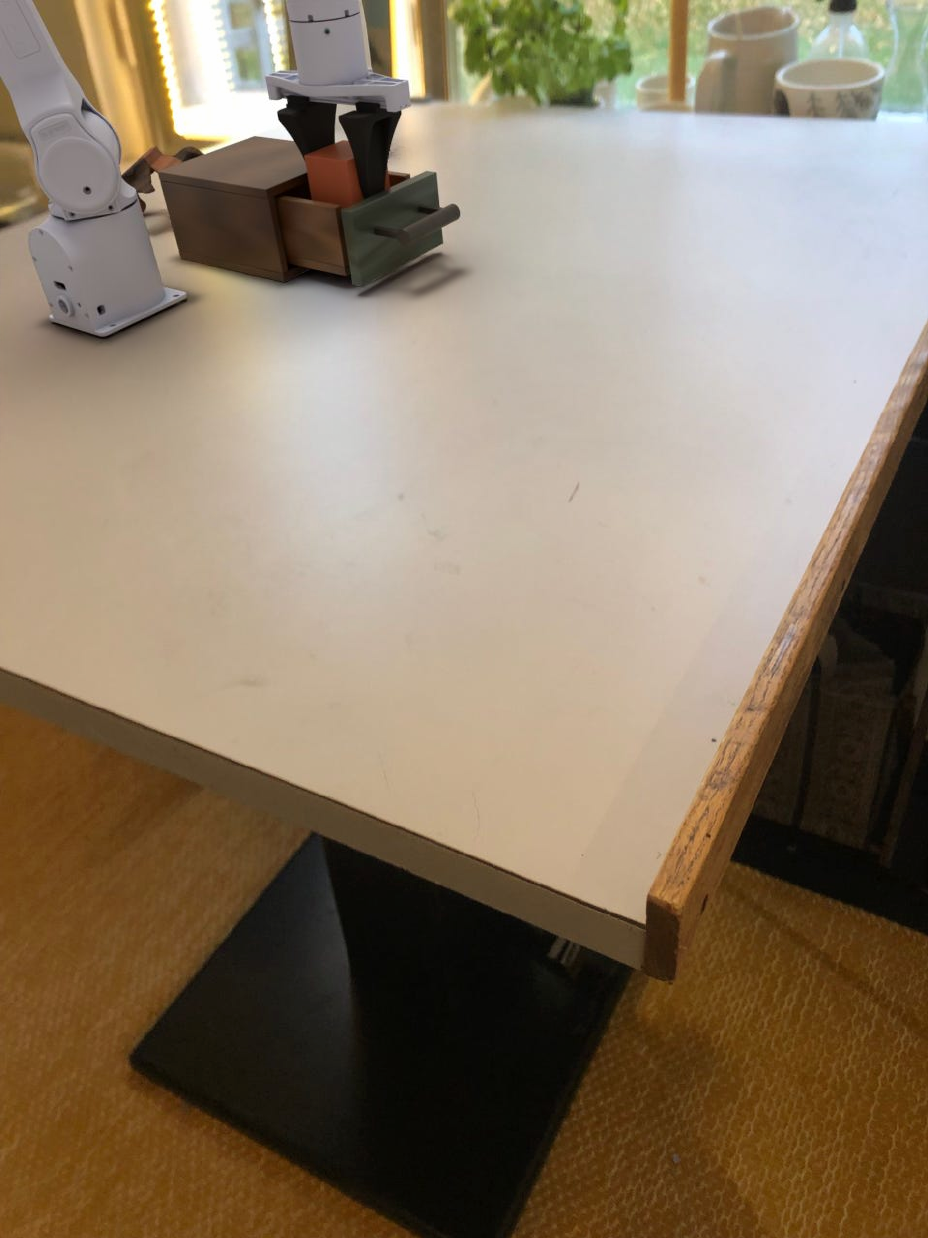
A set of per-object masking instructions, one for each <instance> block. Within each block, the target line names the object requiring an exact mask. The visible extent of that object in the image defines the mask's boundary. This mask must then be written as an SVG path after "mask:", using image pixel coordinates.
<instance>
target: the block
mask: <svg viewBox="0 0 928 1238" xmlns="http://www.w3.org/2000/svg"><path fill="white" fill-rule="evenodd" d="M304 157H305V163H306V169H307V174H308V180H309V186H310V192H311V197H312V200H313V201H319V202H325V203H330V204H336V205H341V208H342V209H345V208H347V207H349V206H351V205H353V204H355V203H358V202H360V201H362V200H364V198H363V195H362V192H361V189H360V185H359V180H358V175H357V169H356V164H355V160H354V156H353V153H352V150H351V147H350V144H349V141H347V140H342V141H339V142H337V143H334V144H332V145H329V146H327V147H324V148H322V149H319V150H317V151H314V152H312V153H309V154H307V155H304ZM388 171H389V166H388V165H387V171H386V181H385V190H386V189H388V188H390V182H389V174H388Z"/></svg>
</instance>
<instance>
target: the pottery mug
mask: <svg viewBox="0 0 928 1238" xmlns="http://www.w3.org/2000/svg"><path fill="white" fill-rule="evenodd" d="M204 154H205V153H204V152H203V151H202V150H200V149H199V148H197V147H195V146H186V147H183V148H181V149H180V150H179V151H178V152H177V153H175V154H173V155H168V154H163V152H162V151H161V149H159V147H158V146H157V145H154V146H153V147H150V148H149V149H148V150H147V151H146V152H144V153H143V154H142V155H141V156H140V157H139V158H138V159H137V160H136V161H135V162H134V163H133V164H132V165H131V166H130V167H128V168H127V169H126V170H125V171H124V172H123V173H121V177H122V179H123V180H124V181H125V182H126V183H127V184H129V185H130V186H132V187H133V188H135V189H136V192H137V195H138V196H137V197H138V199H139V202H140V206H141V209H142V213H143V214H144V213H145V212H146V209H147V203H146V201H145V200H144V199H142V197H141V196H140V194H146V195H149V194H153V193H155V192H156V189H155V187H154V185H153V184H152V174H154V173H156V174H158V171H160V170H163V169H166V168H169V167H171V166H174V165H177V164H180V163H182V162H185V161H188V160H190V159H193V158H196V157H199V156H201V155H204Z"/></svg>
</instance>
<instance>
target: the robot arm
mask: <svg viewBox="0 0 928 1238" xmlns="http://www.w3.org/2000/svg"><path fill="white" fill-rule="evenodd" d="M285 6H286V11H287V17H288V23H289V30H290V35H291V40H292V48H293V53H294V58H295V66H296V70H287V69H286V70H284V69H283V70H282V69H281V70H276V71H273V72H271V73H268V74H265V75H264V79H265V85H266V90H267V95H268V100H269V101H280V100H282V99H283V100H284V99H285V100H286V102H287V103H286V104H285V107H283V108H281V109H279V110H277V111H276V115H277V121H279V123H280V124H281V125H282V126H283V128H284V129H285V130H286V131H287V133H288V134H289V136H290V137H291V139H292V141H294V142H295V144H296V145H297V147H298V149H299V151H300V153H301V154H302V157H303V159H304V161H305V157H304V155H307V154H309V153H312V152H314V151H317V150H319V149H322V148H324V147H327V146H329V145H332V144H334V143H335V118H336V109H337V104H344V105H354V106H356V111H355V110H353V111H351V112H348V113H345V114H343V115H340V116H339V122H340V124H341V126H342V128H343V130H344V132H345V134H346V136H347V139H348V141H349V144H350V147H351V150H352V153H353V156H354V160H355V164H356V169H357V175H358V180H359V185H360V189H361V192H362V195H363V198H364V199H366V198H369V197H371V196H373V195H375V194H377V193H379V192H382V191H384V190H385V181H386V171H387V166H388V162H389V156H390V151H391V147H392V143H393V139H394V136H395V132H396V130H397V127H398V124H399V122H400V119H401V117H402V114H403V113H402V111H403V110H405V109H408V108H411V106H412V101H411V92H410V84H409V80H408V79H400V78H395V77H391V76H387V75H383V74H380V73H376V72H374V69H373V67H372V66H371V67H367V62H366V55H365V47H364V39H363V31H362V24H361V15H360V7H359V0H285ZM0 78H1V80H2V82H3V84H4V86H5V87H6V89H7V91H8V93H9V95H10V98H11V101H12V104H13V107H14V110H15V113H16V115H17V119H18V122H19V125H20V127H21V130H22V131H23V133H24V135H25V137H26V139H27V140H28V142H29V145H30V147H31V150H32V154H33V160H34V161H33V163H34V172H35V176H36V177H35V178H36V180H37V182H38V185H39V186H40V188H41V190H42V192H43V193H44V194H45V196H46V197H47V198H48V199H49V200H48V204H47V207H48V210H49V212H50V214H49V215H48V217H47V218H46V219H45V220H44V221H43V222H42V223H41V224H38V225H36V226H35V227H33V228H32V229H30V231H29V232H28V240H27V242H28V243H27V244H28V250H29V253H30V254H29V255H30V257H31V260H32V263H33V265H34V268H35V271H36V274H37V276H38V279H39V282H40V285H41V287H42V290H43V293H44V295H45V298H46V301H47V303H48V306H49V310H50V311H51V314H49V316H48V318H49V321H51V322H53V323H57V324H59V325H62V326H66V327H68V328H72V329H75V330H78V331H82V332H85V333H88V334H91V335H95V336H97V337H101V338H103V337H107V336H110V335H112V334H114V333H116V332H118V331H121V330H123V329H125V328H127V327H129V326H131V325H133V324H135V323H138V322H139V321H142V320H143V319H146V318H148V317H150V316H153V315H154V314H156V313H159V312H161V311H163V310H165V309H167V308H169V307H171V306H173V305H175V304H178V303H179V302H181V301H184V300H186V299H187V298H188V295H187V292H186V291H183V290H179V289H174V288H172V287H171V288H170V287H167V286H164V283H163V280H162V275H161V273H160V268H159V265H158V262H157V259H156V255H155V252H154V247H153V245H152V240H151V238H150V233H149V231H148V227H147V223H146V220H145V217H144V213H142V209H141V206H140V202H139V199H138V197H137V196H138V195H137V192H136V189H135V188H133V187H132V186H130V185H129V184H127V183H126V182H125V181H124V180H123V179H122V177H121V175H122V170H121V167H120V165H121V160H122V145H121V140H120V137H119V135H118V132H117V131H116V128H115V127H114V126H113V124H112V122H110V121H109V119H108V118H107V117H105V116H104V115H103V114H102V113H101V112H99V111H98V110H97V109H96V108H95V107H94V106H93V105H92V104H91V102H90V101H89V100H88V98H87V96H86V95H85V93H84V91H83V89H82V87H81V85H80V84H79V82H78V80H77V79H76V78H75V76H74V75H73V73H72V72H71V71H70V69H69V68H68V66H67V64H66V63H65V62H64V60H63V57H62V55H61V53H60V52H59V50H58V48H57V46H56V44H55V41H54V40H53V38H52V36H51V34H50V32H49V31H48V29H47V27H46V24H45V22H44V21H43V19H42V17H41V15H40V13H39V11H38V9H37V7H36V5H35V3H34V1H33V0H0Z"/></svg>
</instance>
